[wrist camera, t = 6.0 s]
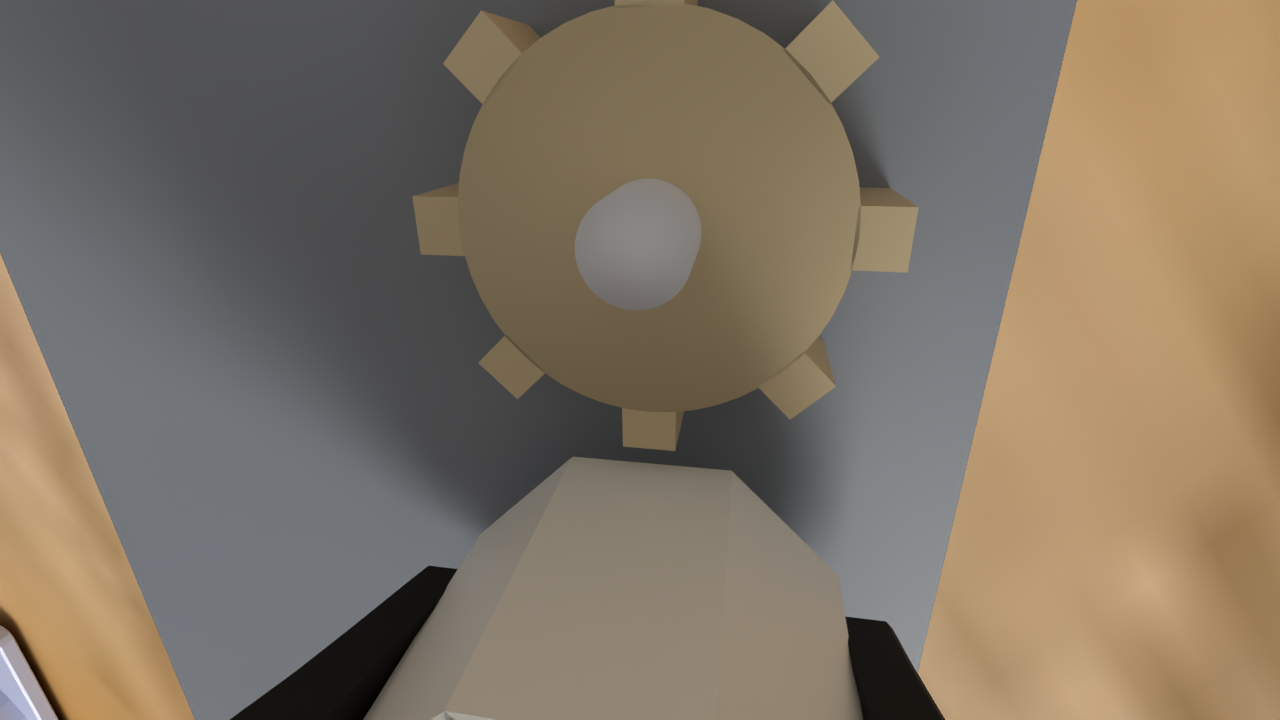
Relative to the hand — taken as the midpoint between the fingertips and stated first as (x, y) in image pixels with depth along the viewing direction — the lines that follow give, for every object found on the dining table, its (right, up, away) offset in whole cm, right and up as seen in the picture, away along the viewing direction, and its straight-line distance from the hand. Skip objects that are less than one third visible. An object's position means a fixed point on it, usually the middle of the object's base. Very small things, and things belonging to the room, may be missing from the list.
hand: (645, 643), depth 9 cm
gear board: (-3, +1, +4) cm, 5 cm away
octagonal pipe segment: (0, 0, +1) cm, 1 cm away
